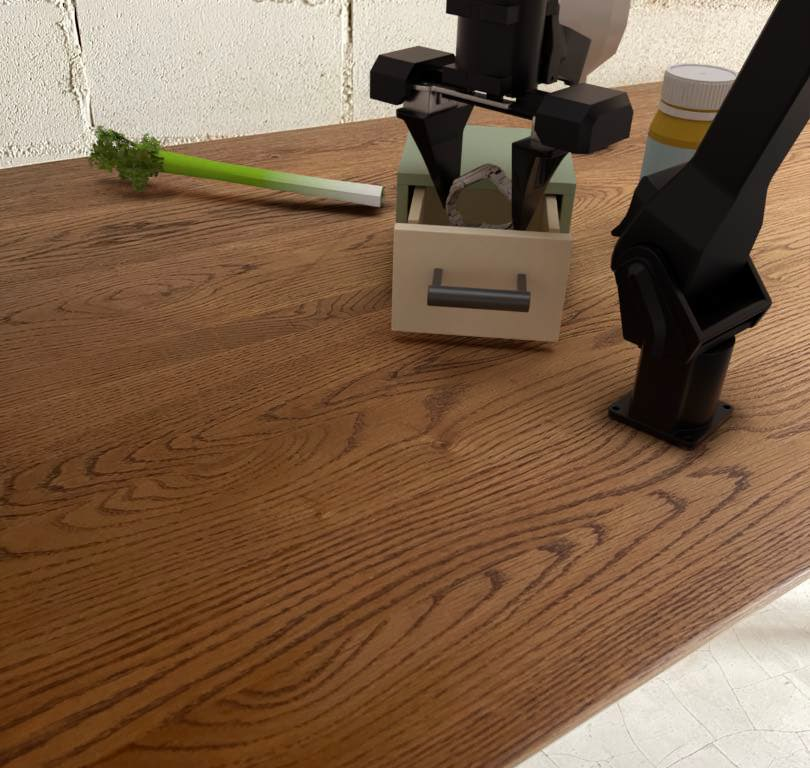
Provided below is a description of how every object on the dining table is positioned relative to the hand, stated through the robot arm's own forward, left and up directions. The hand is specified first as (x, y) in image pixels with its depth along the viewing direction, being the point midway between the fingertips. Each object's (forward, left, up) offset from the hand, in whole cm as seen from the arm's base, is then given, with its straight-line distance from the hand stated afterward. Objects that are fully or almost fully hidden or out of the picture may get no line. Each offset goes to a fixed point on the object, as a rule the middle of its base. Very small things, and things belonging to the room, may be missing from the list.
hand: (484, 220), depth 69 cm
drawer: (-1, 0, -7) cm, 7 cm away
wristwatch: (0, 0, -1) cm, 1 cm away
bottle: (+25, -3, -8) cm, 26 cm away
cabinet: (+9, +7, -8) cm, 14 cm away
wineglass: (+46, +21, -8) cm, 51 cm away
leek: (+5, +34, -8) cm, 35 cm away
